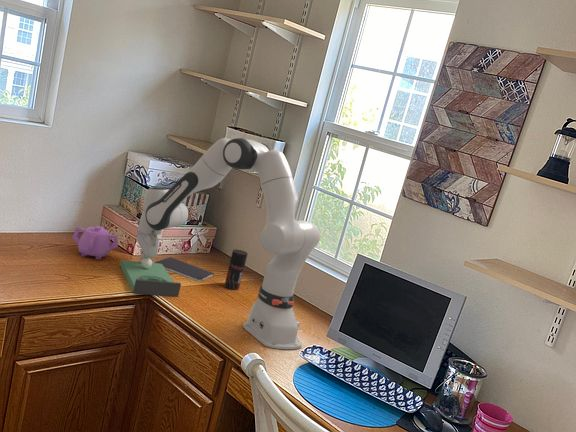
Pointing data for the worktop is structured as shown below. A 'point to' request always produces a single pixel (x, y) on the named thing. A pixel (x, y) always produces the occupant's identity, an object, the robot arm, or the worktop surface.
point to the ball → (146, 263)
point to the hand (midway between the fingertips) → (143, 261)
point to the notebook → (185, 269)
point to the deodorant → (235, 269)
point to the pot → (94, 241)
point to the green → (149, 279)
